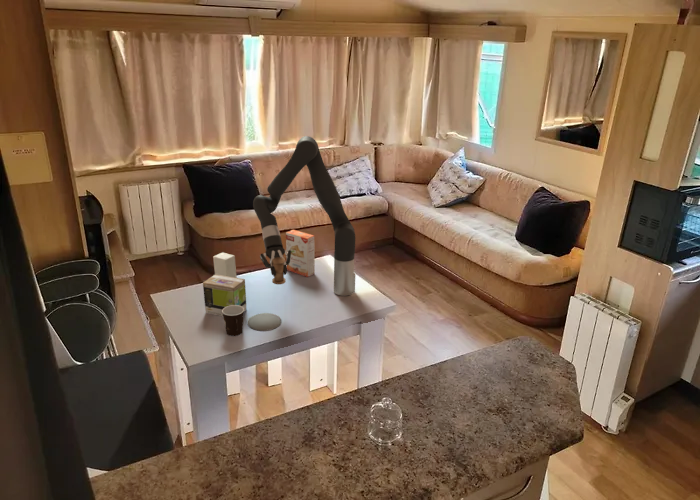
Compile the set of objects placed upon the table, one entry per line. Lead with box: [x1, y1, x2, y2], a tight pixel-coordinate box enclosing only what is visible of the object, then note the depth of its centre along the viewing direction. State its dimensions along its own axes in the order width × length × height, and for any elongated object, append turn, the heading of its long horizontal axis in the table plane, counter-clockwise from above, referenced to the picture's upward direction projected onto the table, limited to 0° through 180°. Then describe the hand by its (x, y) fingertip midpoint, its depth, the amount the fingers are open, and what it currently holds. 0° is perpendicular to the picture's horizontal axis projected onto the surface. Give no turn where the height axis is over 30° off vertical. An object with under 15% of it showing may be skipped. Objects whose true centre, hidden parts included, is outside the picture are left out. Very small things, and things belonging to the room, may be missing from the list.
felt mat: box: [247, 312, 282, 332], centre depth 226 cm, size 14×14×1 cm
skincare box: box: [212, 251, 238, 278], centre depth 254 cm, size 8×7×16 cm
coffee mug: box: [222, 305, 245, 337], centre depth 215 cm, size 12×9×10 cm
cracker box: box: [285, 229, 316, 278], centre depth 270 cm, size 14×6×21 cm, turn 55°
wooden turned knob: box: [271, 257, 287, 285], centre depth 228 cm, size 6×6×10 cm
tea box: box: [202, 273, 247, 317], centre depth 231 cm, size 15×10×15 cm
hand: (280, 274), depth 227 cm, fingers closed on wooden turned knob, 4 cm apart
